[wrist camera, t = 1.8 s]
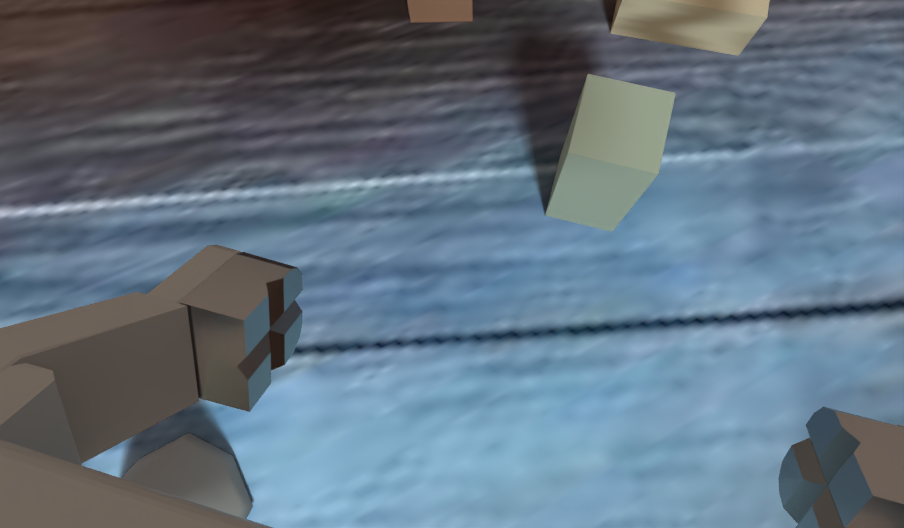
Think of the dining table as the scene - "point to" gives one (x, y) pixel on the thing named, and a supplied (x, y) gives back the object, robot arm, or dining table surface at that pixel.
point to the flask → (194, 475)
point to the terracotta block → (440, 10)
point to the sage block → (610, 152)
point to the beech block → (692, 22)
